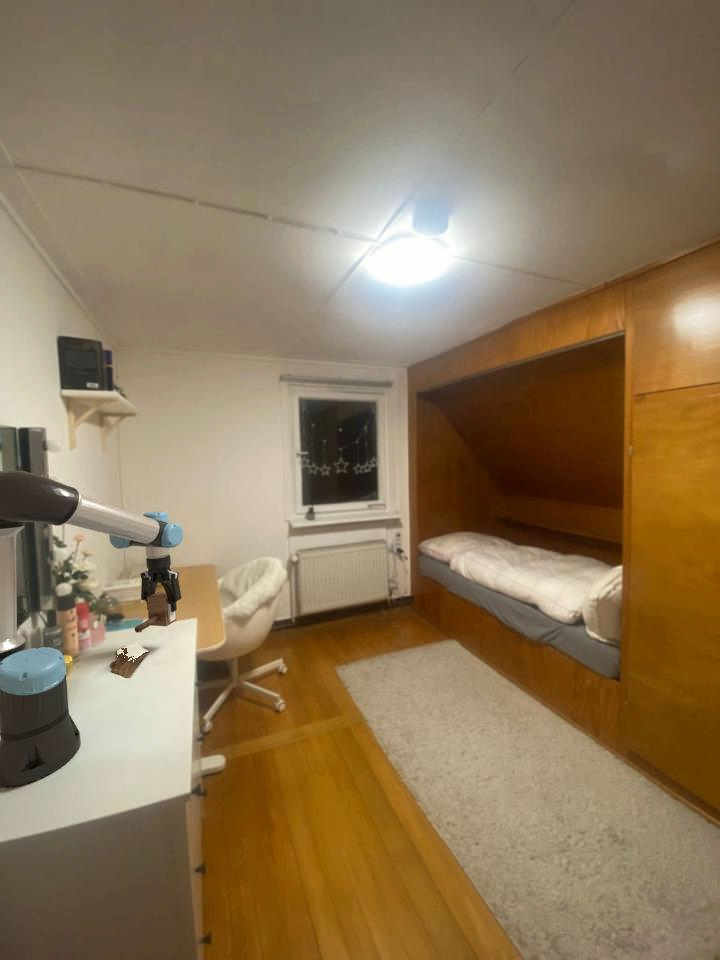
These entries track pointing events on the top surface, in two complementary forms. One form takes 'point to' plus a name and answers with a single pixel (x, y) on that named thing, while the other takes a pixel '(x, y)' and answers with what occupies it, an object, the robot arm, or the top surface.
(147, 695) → the top surface
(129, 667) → the wooden fragment
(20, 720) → the robot arm
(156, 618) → the marking gauge
